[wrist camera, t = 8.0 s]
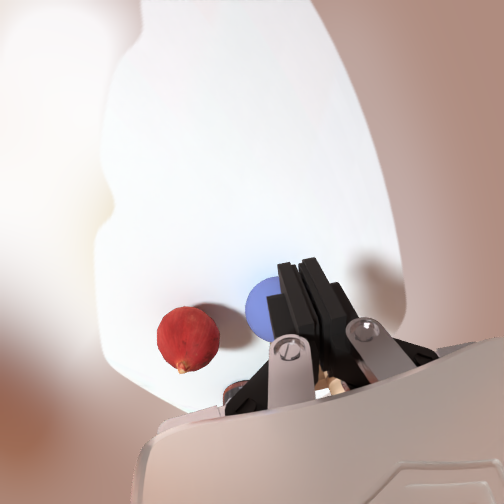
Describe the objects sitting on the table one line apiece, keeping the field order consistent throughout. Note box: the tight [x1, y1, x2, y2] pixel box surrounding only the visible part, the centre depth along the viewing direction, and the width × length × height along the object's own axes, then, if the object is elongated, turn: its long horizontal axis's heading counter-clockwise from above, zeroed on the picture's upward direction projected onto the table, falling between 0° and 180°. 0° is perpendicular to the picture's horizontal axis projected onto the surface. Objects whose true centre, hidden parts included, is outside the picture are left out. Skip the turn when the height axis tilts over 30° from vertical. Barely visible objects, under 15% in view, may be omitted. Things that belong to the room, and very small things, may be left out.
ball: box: [245, 277, 281, 342], centre depth 25 cm, size 6×6×6 cm
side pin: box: [324, 371, 345, 395], centre depth 27 cm, size 2×2×9 cm
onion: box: [157, 306, 220, 374], centre depth 25 cm, size 6×6×8 cm
